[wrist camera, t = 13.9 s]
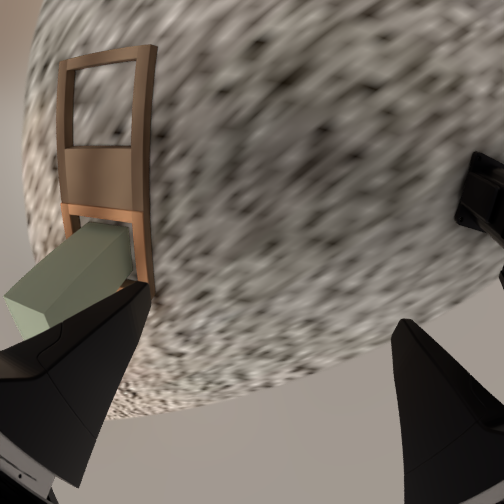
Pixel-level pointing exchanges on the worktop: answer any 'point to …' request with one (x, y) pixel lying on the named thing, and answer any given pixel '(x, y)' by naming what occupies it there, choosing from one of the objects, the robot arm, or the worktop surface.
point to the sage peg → (71, 278)
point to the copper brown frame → (109, 158)
